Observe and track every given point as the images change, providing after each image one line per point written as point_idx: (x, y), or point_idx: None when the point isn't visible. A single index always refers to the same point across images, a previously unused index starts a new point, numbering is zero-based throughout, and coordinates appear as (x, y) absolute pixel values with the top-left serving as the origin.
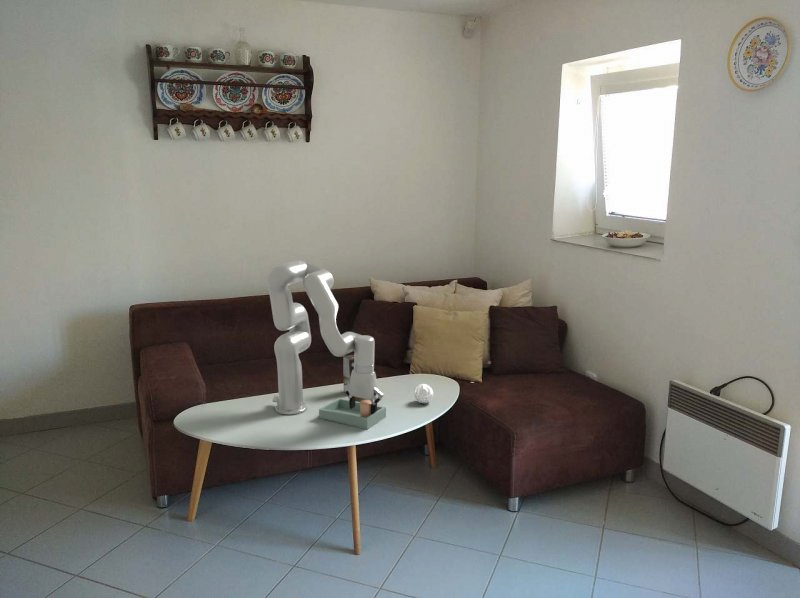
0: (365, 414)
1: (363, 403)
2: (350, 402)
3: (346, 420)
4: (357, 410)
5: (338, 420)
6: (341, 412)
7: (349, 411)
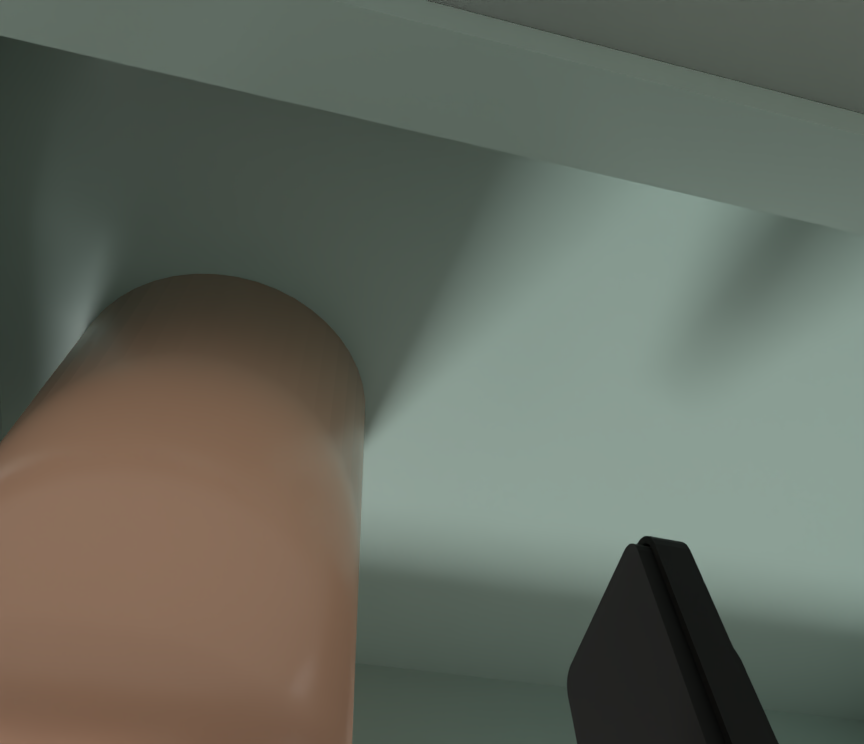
0: (117, 369)
1: (117, 691)
2: (728, 701)
3: (633, 64)
4: (551, 687)
5: (858, 115)
6: (825, 562)
7: None
